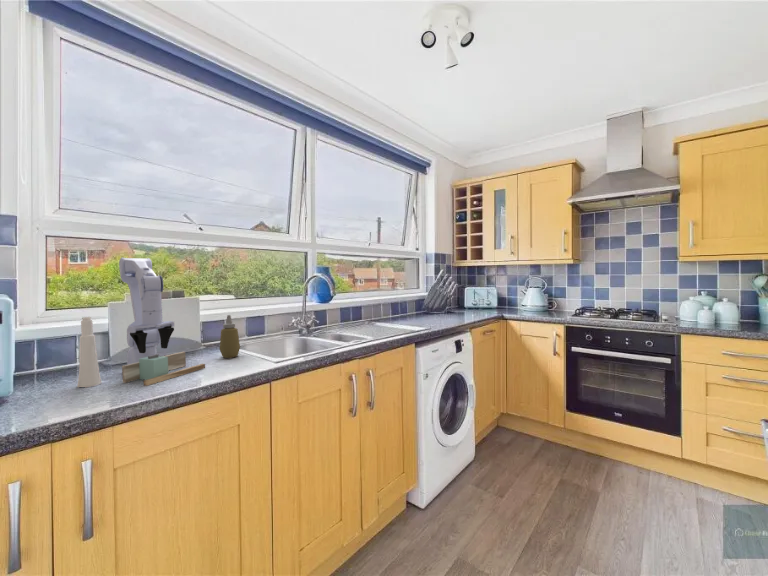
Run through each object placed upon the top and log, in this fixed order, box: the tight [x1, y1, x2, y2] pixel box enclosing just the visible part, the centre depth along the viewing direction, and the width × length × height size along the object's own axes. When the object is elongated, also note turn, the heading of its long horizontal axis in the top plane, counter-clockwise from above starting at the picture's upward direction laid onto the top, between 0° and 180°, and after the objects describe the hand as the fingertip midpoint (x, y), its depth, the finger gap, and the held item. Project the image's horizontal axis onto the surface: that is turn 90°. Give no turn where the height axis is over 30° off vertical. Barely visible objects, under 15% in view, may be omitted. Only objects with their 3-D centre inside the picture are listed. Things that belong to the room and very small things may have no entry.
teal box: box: [139, 353, 169, 380], centre depth 116 cm, size 7×5×8 cm
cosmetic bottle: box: [76, 316, 103, 388], centre depth 109 cm, size 6×6×22 cm
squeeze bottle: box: [219, 314, 241, 359], centre depth 145 cm, size 8×8×18 cm
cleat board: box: [121, 351, 206, 387], centre depth 120 cm, size 12×22×6 cm, turn 160°
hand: (153, 350), depth 116 cm, fingers open, 7 cm apart
